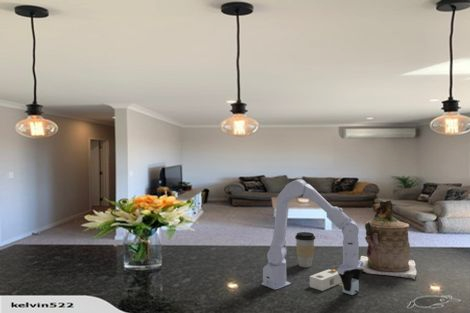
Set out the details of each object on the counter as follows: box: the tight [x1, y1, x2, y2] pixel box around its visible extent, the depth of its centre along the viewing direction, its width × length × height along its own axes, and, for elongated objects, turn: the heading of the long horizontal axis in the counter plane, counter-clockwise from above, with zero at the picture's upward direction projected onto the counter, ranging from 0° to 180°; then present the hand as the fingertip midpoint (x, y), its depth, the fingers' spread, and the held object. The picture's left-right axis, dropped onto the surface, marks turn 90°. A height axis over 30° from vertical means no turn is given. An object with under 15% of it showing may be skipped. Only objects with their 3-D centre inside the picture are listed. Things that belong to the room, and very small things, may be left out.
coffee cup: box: [294, 231, 316, 268], centre depth 173 cm, size 9×9×15 cm
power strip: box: [309, 268, 342, 292], centre depth 150 cm, size 6×18×5 cm, turn 131°
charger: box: [338, 278, 364, 296], centre depth 139 cm, size 9×4×5 cm, turn 41°
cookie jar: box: [359, 199, 418, 280], centre depth 168 cm, size 25×25×32 cm
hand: (350, 288), depth 139 cm, fingers closed on charger, 4 cm apart
